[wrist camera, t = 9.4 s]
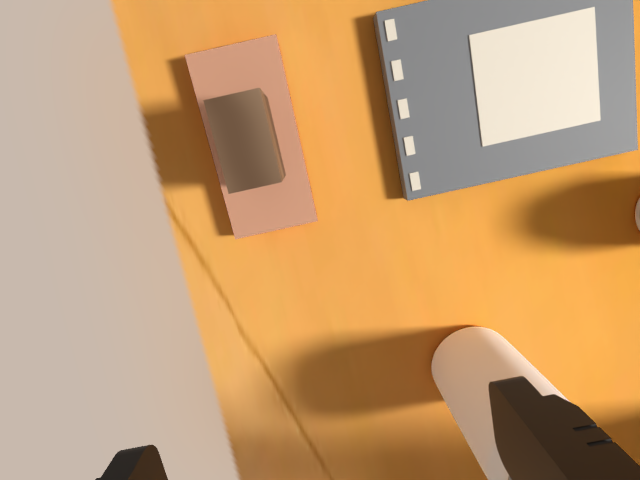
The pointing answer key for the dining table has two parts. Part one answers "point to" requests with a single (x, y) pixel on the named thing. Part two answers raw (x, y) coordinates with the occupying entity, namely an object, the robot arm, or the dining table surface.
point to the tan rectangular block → (253, 135)
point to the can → (480, 386)
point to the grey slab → (505, 87)
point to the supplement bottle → (637, 214)
